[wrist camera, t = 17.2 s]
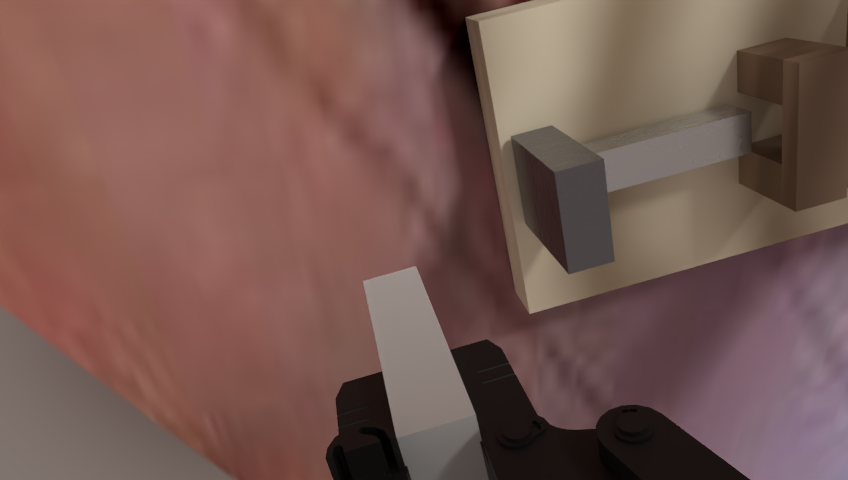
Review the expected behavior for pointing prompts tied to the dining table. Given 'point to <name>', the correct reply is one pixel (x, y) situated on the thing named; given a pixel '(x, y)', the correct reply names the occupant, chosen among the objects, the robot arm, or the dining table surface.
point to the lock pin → (612, 175)
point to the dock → (665, 100)
